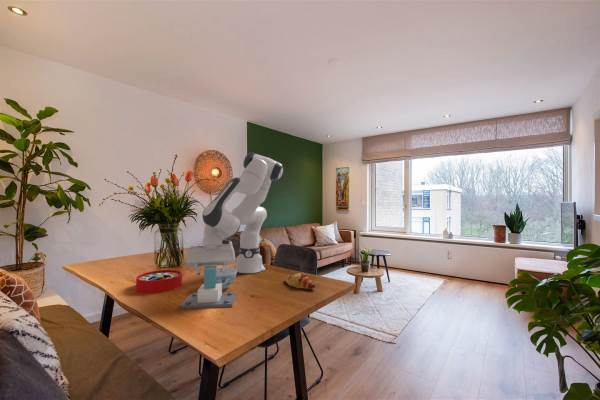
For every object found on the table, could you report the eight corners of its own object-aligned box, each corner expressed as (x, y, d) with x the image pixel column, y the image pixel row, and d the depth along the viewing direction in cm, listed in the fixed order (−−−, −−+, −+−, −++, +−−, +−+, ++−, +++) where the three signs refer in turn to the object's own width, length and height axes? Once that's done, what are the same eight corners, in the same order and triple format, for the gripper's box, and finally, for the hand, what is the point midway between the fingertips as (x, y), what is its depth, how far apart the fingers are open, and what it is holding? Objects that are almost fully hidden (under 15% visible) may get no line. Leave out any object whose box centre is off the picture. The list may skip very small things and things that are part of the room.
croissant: (281, 288, 140) (275, 276, 137) (294, 276, 146) (288, 264, 143) (311, 298, 124) (305, 285, 122) (323, 284, 131) (318, 271, 128)
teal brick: (205, 285, 114) (205, 266, 114) (216, 284, 115) (216, 266, 115) (203, 288, 109) (203, 269, 109) (215, 288, 110) (215, 268, 110)
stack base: (190, 296, 118) (190, 282, 118) (236, 295, 120) (236, 281, 120) (179, 308, 105) (179, 292, 105) (232, 306, 107) (232, 291, 107)
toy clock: (190, 271, 139) (161, 282, 120) (190, 282, 139) (161, 295, 120) (158, 268, 144) (125, 279, 125) (158, 279, 144) (125, 291, 125)
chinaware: (242, 287, 131) (242, 271, 131) (213, 295, 120) (214, 277, 120) (227, 280, 141) (227, 266, 141) (199, 287, 131) (199, 271, 131)
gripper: (187, 242, 117) (182, 271, 107) (235, 241, 121) (234, 268, 112) (188, 251, 121) (184, 278, 112) (235, 249, 126) (235, 276, 116)
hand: (210, 273), depth 112 cm, fingers open, 8 cm apart
